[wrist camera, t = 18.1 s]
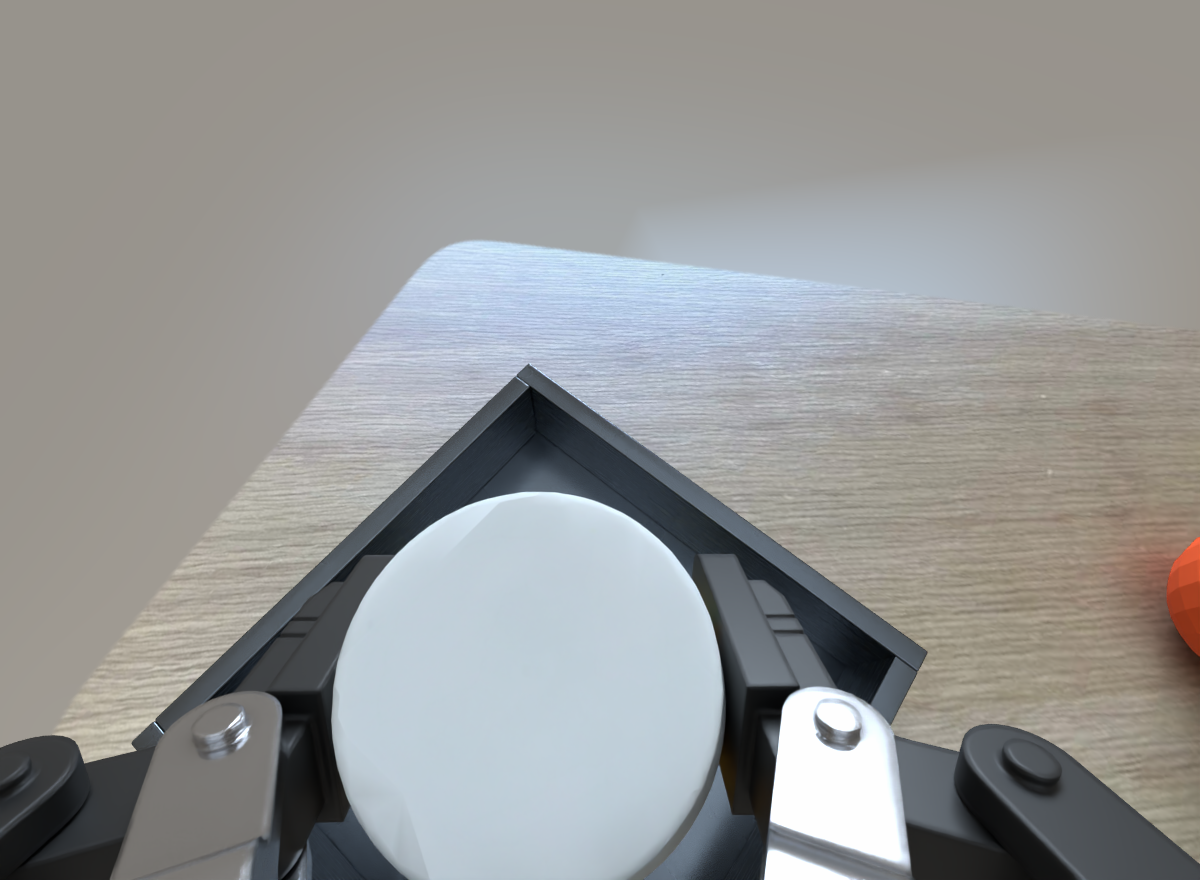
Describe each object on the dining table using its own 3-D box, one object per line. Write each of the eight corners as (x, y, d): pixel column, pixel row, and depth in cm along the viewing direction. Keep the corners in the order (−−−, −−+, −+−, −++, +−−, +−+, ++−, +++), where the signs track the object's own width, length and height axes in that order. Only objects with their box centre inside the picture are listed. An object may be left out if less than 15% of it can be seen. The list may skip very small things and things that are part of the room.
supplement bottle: (410, 773, 14) (116, 852, 5) (508, 566, 16) (419, 377, 7) (623, 874, 13) (702, 1171, 4) (693, 640, 15) (836, 528, 7)
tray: (586, 1161, 17) (588, 1318, 12) (223, 738, 21) (128, 743, 17) (861, 665, 23) (928, 651, 19) (537, 420, 28) (528, 362, 23)
